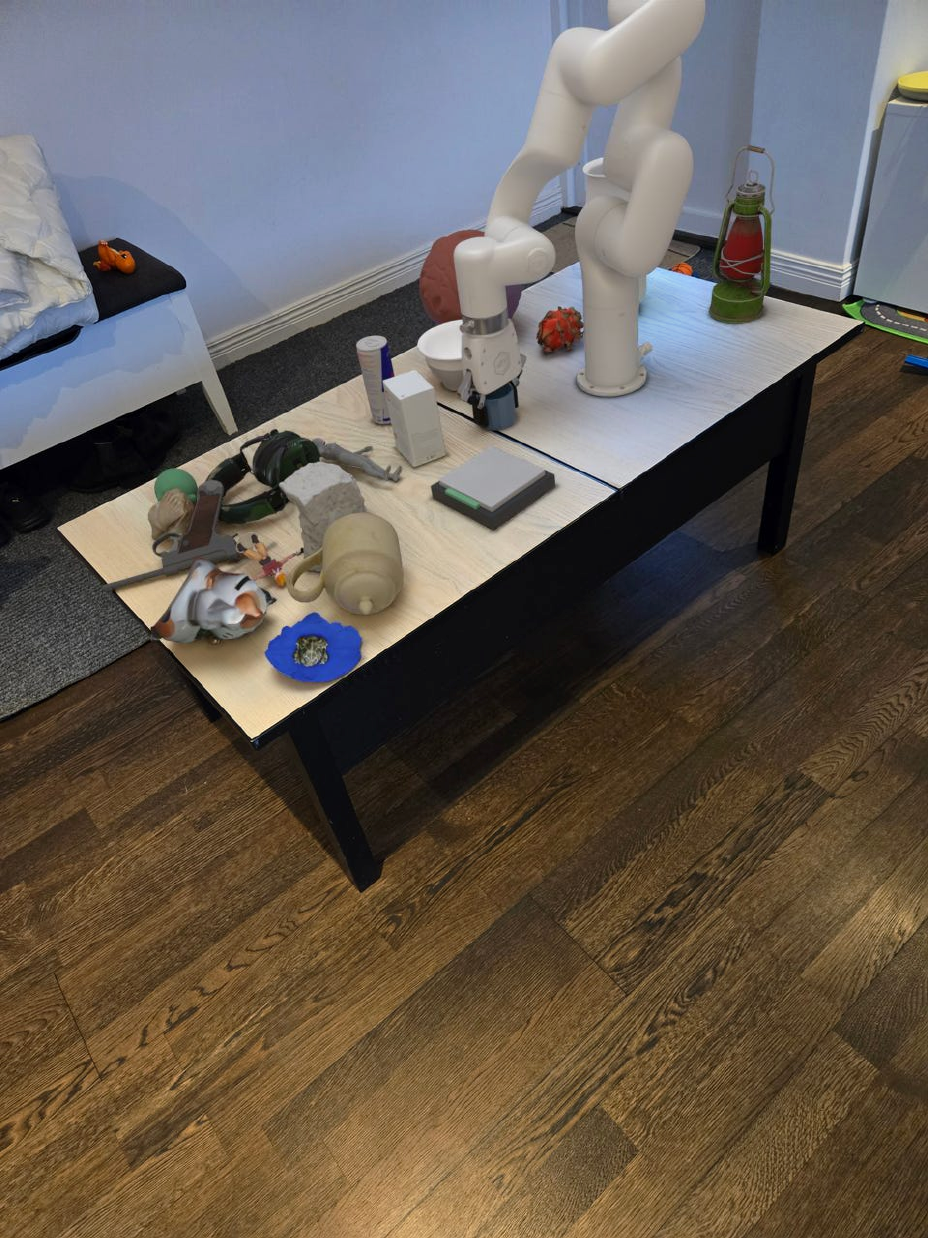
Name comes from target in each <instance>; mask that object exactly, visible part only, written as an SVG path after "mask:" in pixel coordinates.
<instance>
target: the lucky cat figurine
mask: <svg viewBox="0 0 928 1238" xmlns="http://www.w3.org/2000/svg"><path fill="white" fill-rule="evenodd" d="M188 570H189V571H188V573H187V576H186V578H185V580H184V581H183V583H182V584H181V586H180V587H179V589H178V591H177V592H176V593H175V595H174V597H173V599H172V601H171V602H170V604H169V605H168V607H167V609H166V610H165V612H164V613H163V614H162V615H161V616H160V617H159V619H158V620H157V621H156V622H155V624H154V625H152V626H150V628H149V629H150V637H149V639H150V641H151V642H153V641H160V640H162V639H163V640H165V641H166V642H174V643H182V644H183V643H184V644H189V643H193V642H195V641H197V640H201V639H206V641H207V643H208V644H209V645H219V644H220V641H221V640H234V639H235V640H236V639H238V638H240V637H242V636H244V635H245V634H249V633H252V632H254V631H255V629H256V628H257V627H258V626H260V625H261V624H262V621H264V618H265V616H266V615H267V613H268V611H267V610H268V607H269V606H271V605H273V604H275V603H276V602H277V601H278V598H276V597H275V596H272V595H271V593H270V592H269V591H268V590H266V589H264V588H262V587H261V586H260V585H259V584H258V582H257V581H253V580H252V579H251V578H250V576H249V575H248V574H245V573H241V572H239V573H238V572H237V573H236V572H228V571H223V570H221V568H220V567H219V566H218V565H216V564H215V563H212V562H210V561H209V560H207V559H205V558H201V557H199V558H195V559H194V560H193V562H192V565H191V568H190V569H188Z"/></svg>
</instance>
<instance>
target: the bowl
mask: <svg viewBox="0 0 928 1238" xmlns="http://www.w3.org/2000/svg"><path fill="white" fill-rule="evenodd" d="M462 324H463V321H462V320H456V321H451V322H447V323H443V324H441V325H438V326H437V325H436V326H434V327H432V328H430V329H428V330H427V331H425V332H424V333H422V335H421V336H420V337H419V338H418V341H417V344H416V346H417V350H418V352H419V353H420V354H421V355H423V356H424V358H425V362H426V364H427V366H428V368H429V370H430V371H431V372H432V374H433V375H434V376H435V377H436V378H437V379H438V380H439V381H440V382H442V385H443V387H444V388H446V389H447V390H449V391H453V392H457V391H458V389H459V387H460V385H461V383H462V381H463V379H464V377H463V369H462V332H461V331H460V325H462ZM470 389H471V388H470Z"/></svg>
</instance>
